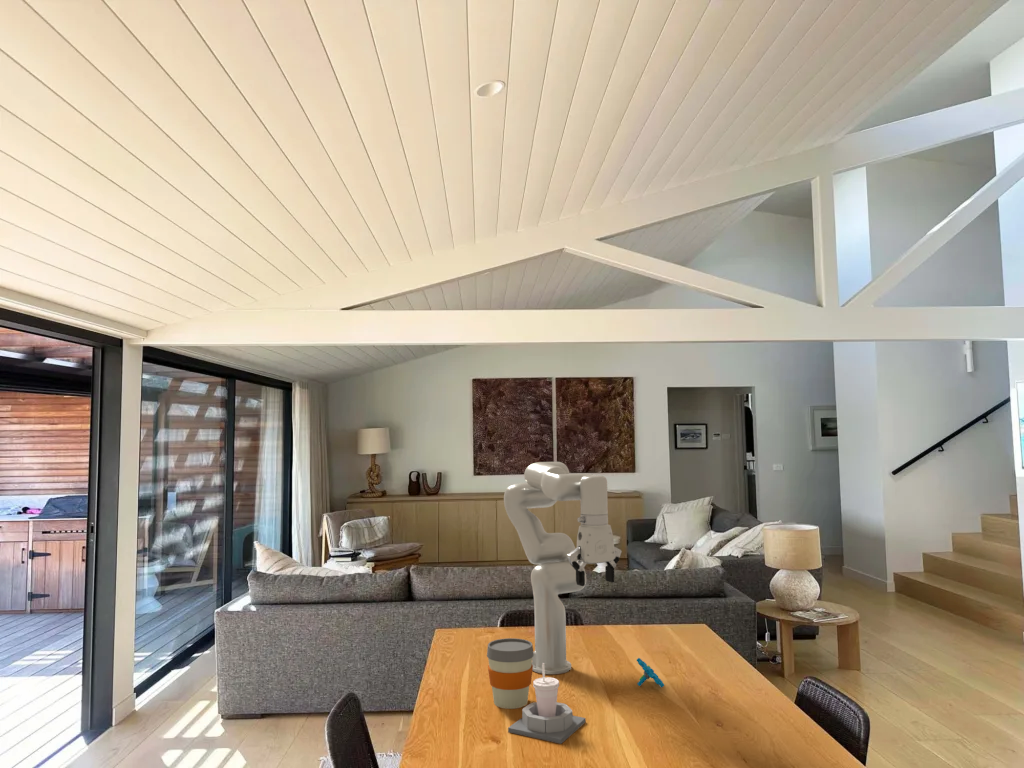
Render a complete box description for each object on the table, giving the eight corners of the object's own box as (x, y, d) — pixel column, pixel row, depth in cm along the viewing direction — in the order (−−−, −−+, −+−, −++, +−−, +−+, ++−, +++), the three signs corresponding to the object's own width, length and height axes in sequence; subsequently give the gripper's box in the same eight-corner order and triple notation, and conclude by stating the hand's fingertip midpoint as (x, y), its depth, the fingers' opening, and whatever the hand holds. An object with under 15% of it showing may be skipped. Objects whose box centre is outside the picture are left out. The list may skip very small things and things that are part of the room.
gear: (667, 687, 192) (640, 659, 194) (651, 703, 191) (625, 674, 194) (665, 679, 202) (639, 652, 205) (650, 694, 202) (625, 667, 205)
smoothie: (532, 717, 173) (531, 659, 174) (558, 716, 174) (556, 658, 175) (536, 728, 167) (534, 668, 168) (562, 726, 167) (560, 666, 168)
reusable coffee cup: (540, 696, 190) (539, 640, 192) (525, 713, 179) (525, 653, 180) (496, 691, 194) (496, 636, 196) (480, 708, 183) (479, 649, 184)
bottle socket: (508, 732, 167) (507, 714, 168) (535, 712, 179) (535, 695, 180) (561, 743, 160) (560, 725, 161) (585, 722, 173) (585, 705, 173)
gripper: (575, 523, 186) (576, 589, 185) (627, 519, 194) (629, 582, 193) (560, 521, 193) (561, 584, 192) (611, 517, 201) (613, 577, 200)
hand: (595, 583), depth 192 cm, fingers open, 9 cm apart
